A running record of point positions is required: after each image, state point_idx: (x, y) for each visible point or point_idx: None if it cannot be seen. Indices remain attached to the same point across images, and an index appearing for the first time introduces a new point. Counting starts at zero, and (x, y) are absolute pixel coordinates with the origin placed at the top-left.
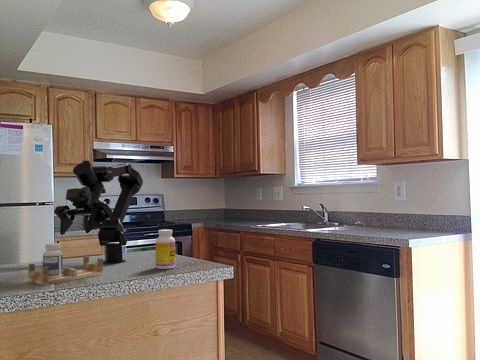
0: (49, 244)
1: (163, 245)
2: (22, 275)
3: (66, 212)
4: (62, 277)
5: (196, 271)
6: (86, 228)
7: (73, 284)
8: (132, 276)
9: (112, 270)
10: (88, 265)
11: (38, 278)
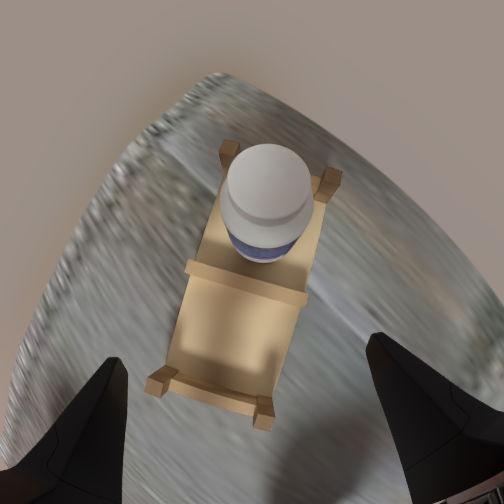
0: (269, 155)
1: None
2: (422, 265)
3: (500, 497)
4: (221, 235)
5: (11, 428)
6: (102, 373)
7: (152, 210)
8: (70, 362)
9: (189, 442)
10: (239, 398)
11: None
